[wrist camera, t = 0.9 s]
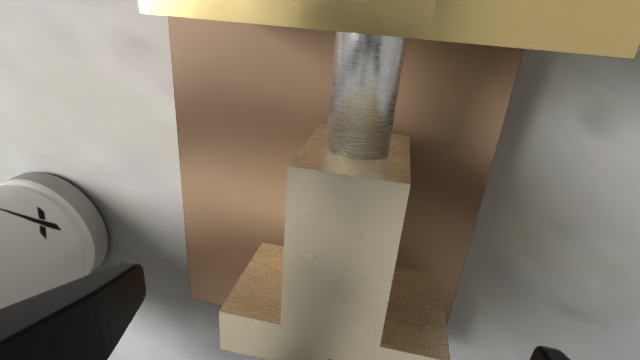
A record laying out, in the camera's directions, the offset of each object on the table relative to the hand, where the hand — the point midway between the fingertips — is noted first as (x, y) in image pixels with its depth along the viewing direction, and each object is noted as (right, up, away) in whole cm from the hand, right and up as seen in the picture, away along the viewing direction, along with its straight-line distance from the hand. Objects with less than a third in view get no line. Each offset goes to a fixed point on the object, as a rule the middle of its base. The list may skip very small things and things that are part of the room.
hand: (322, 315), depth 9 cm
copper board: (0, +5, +7) cm, 9 cm away
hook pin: (+1, +5, +4) cm, 7 cm away
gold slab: (+2, +9, +3) cm, 10 cm away
